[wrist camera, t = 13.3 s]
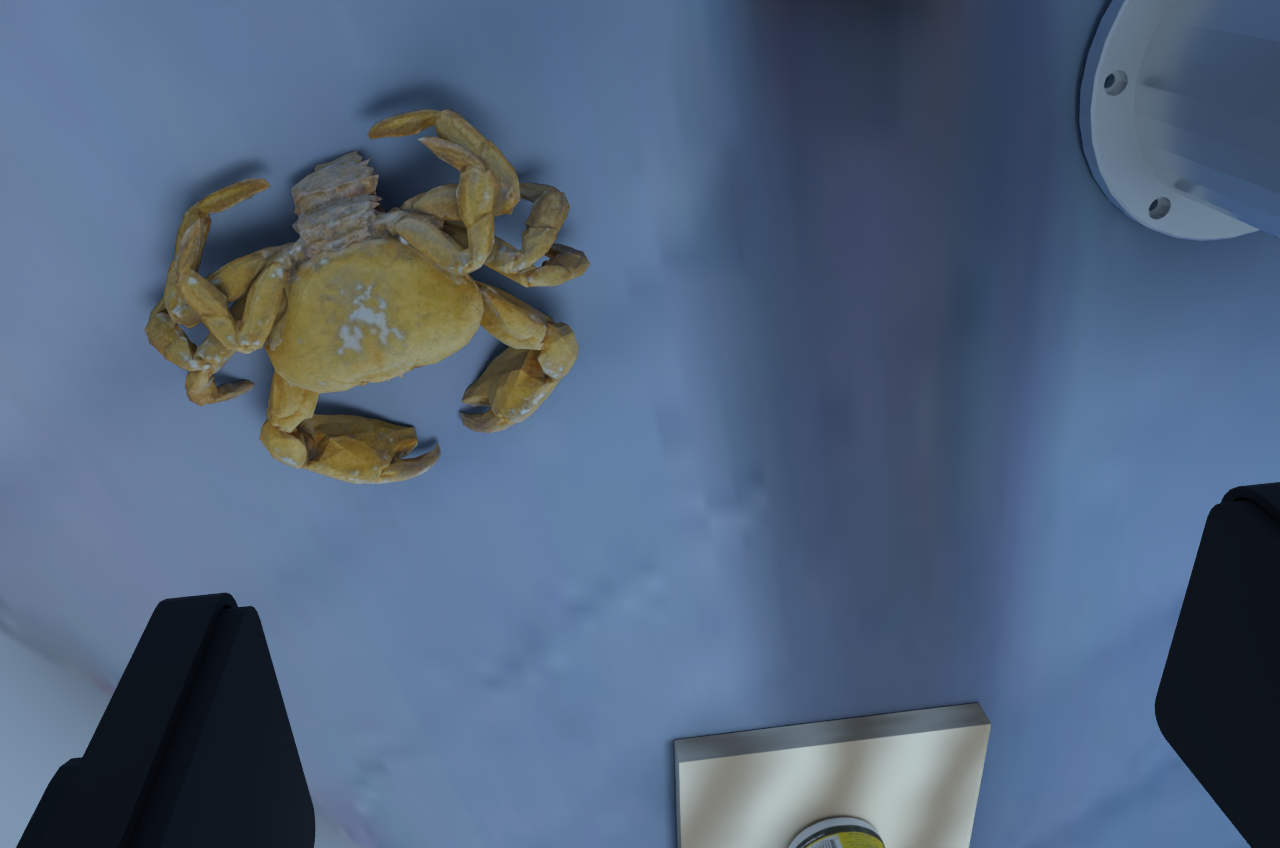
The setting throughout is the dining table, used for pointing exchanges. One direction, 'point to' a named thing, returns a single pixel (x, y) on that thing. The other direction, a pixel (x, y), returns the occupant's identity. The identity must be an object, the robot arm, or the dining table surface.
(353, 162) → the crab model
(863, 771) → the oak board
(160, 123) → the dining table surface
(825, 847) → the supplement bottle
